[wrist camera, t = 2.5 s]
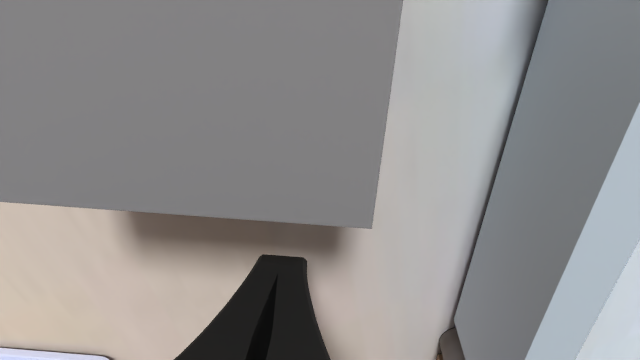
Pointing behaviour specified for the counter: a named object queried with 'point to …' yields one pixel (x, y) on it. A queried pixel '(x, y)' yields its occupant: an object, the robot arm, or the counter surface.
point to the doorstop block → (197, 106)
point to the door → (560, 190)
